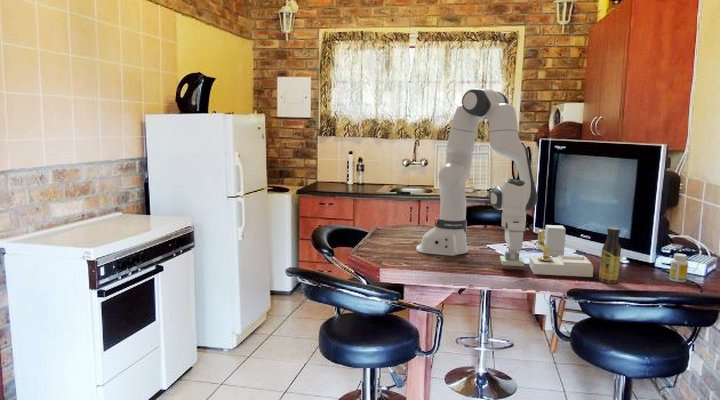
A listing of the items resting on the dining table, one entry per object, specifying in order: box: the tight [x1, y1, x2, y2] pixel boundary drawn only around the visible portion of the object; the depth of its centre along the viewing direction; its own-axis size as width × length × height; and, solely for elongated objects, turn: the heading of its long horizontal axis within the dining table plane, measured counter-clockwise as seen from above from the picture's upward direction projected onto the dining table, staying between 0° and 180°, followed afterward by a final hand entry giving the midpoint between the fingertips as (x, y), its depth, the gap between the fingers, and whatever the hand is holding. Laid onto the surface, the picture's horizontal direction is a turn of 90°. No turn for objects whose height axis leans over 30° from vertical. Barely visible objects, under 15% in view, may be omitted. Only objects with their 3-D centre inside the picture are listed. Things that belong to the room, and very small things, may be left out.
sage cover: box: [499, 251, 525, 267], centre depth 210 cm, size 8×8×4 cm
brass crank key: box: [537, 229, 551, 262], centre depth 211 cm, size 10×4×10 cm, turn 0°
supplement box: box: [544, 224, 566, 258], centre depth 232 cm, size 7×7×13 cm
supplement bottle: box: [668, 253, 689, 283], centre depth 198 cm, size 5×5×10 cm
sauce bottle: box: [598, 226, 622, 285], centre depth 195 cm, size 7×6×20 cm
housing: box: [528, 255, 594, 278], centre depth 208 cm, size 21×11×5 cm, turn 82°
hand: (511, 257), depth 210 cm, fingers closed on sage cover, 2 cm apart
